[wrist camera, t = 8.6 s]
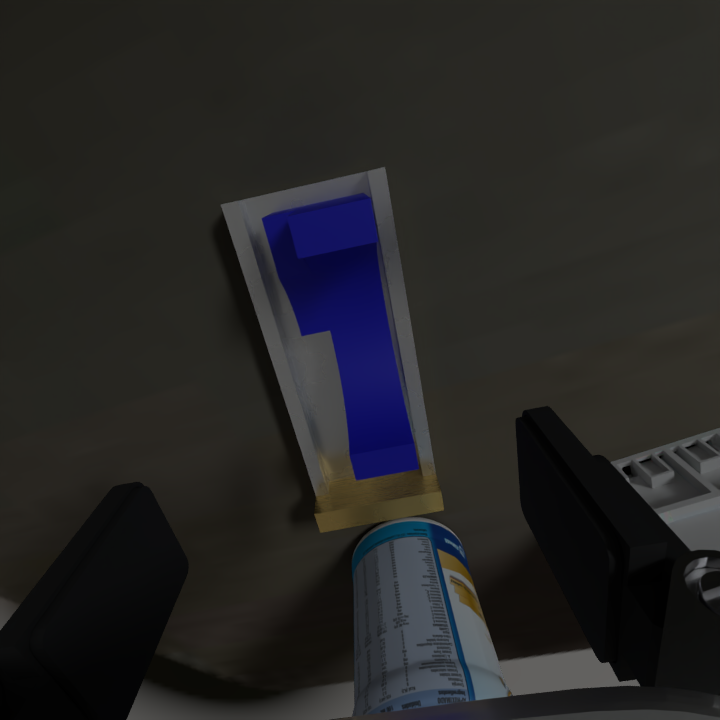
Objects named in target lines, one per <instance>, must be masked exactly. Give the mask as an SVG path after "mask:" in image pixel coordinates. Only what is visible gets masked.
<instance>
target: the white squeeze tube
mask: <svg viewBox="0 0 720 720" xmlns="http://www.w3.org/2000/svg"><path fill="white" fill-rule="evenodd" d="M360 193H364V194H366V195H367V196H368V197H370V198H371V204H372V209H373V215H374V220H375V226H376V231H377V237H378V242H377V255H378V263H379V270H380V276H381V283H382V289H383V295H384V301H385V306H386V312H387V317H388V323H389V328H390V333H391V339H392V344H393V349H394V354H395V359H396V364H397V369H398V374H399V378H400V383H401V388H402V392H403V397H404V402H405V406H406V410H407V415H408V419H409V423H410V428H411V432H412V436H413V440H414V444H415V449H416V455H417V460H418V466H419V469H417V470H412V471H406V472H401V473H395V474H390V475H385V476H379V477H374V478H368V479H363V480H357V481H356V479H355V475H354V471H353V467H352V463H351V460H350V456H349V438H348V427H347V419H346V411H345V404H344V397H343V391H342V385H341V379H340V374H339V369H338V364H337V359H336V354H335V350H334V345H333V341H332V336H331V332H330V331H325V332H320V333H315V334H310V335H305V336H301V333H300V329H299V326H298V323H297V320H296V317H295V314H294V311H293V308H292V306H291V303H290V301H289V298H288V296H287V294H286V292H285V290H284V288H283V286H282V284H281V282H280V280H279V278H278V274H277V271H276V267H275V264H274V260H273V257H272V253H271V250H270V246H269V243H268V239H267V236H266V232H265V229H264V225H263V222H262V218H263V217H265V216H267V215H269V214H271V213H273V212H278V211H282V210H287V209H292V208H296V207H301V206H305V205H310V204H314V203H319V202H323V201H328V200H332V199H337V198H341V197H346V196H351V195H355V194H360ZM221 207H222V210H223V213H224V216H225V219H226V222H227V225H228V228H229V232H230V235H231V238H232V241H233V244H234V247H235V250H236V253H237V256H238V259H239V262H240V265H241V268H242V271H243V274H244V277H245V281H246V284H247V287H248V290H249V293H250V296H251V299H252V302H253V305H254V308H255V311H256V314H257V317H258V320H259V323H260V326H261V330H262V333H263V336H264V339H265V342H266V345H267V348H268V351H269V354H270V357H271V360H272V363H273V366H274V369H275V372H276V375H277V378H278V382H279V385H280V388H281V391H282V394H283V397H284V400H285V403H286V406H287V409H288V412H289V415H290V418H291V421H292V424H293V427H294V431H295V434H296V437H297V440H298V443H299V446H300V449H301V452H302V455H303V458H304V461H305V464H306V467H307V470H308V473H309V476H310V480H311V483H312V486H313V489H314V492H315V495H316V502H315V513H314V515H315V518H316V521H317V524H318V527H319V530H320V533H321V532H327V531H332V530H338V529H343V528H349V527H354V526H360V525H366V524H371V523H377V522H382V521H388V520H393V519H399V518H404V517H410V516H415V515H421V514H426V513H432V512H437V511H443V510H444V506H443V500H442V494H441V489H440V486H439V483H438V480H437V476H436V472H435V466H434V460H433V454H432V448H431V442H430V436H429V430H428V424H427V418H426V412H425V406H424V400H423V394H422V388H421V382H420V376H419V370H418V364H417V358H416V352H415V346H414V340H413V334H412V327H411V321H410V315H409V309H408V303H407V297H406V291H405V285H404V279H403V273H402V267H401V261H400V255H399V249H398V243H397V237H396V231H395V225H394V219H393V213H392V207H391V201H390V195H389V189H388V183H387V177H386V171H385V167H383V168H379V169H375V170H370V171H366V172H362V173H358V174H353V175H349V176H345V177H340V178H336V179H332V180H327V181H323V182H319V183H314V184H310V185H305V186H301V187H297V188H292V189H288V190H284V191H279V192H275V193H271V194H266V195H262V196H257V197H253V198H249V199H244V200H240V201H235V202H231V203H226V204H222V205H221Z"/></svg>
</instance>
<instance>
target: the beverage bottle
mask: <svg viewBox="0 0 720 720" xmlns="http://www.w3.org/2000/svg"><path fill="white" fill-rule="evenodd" d="M352 579H353V590H354V697H355V698H354V699H355V706H354V711H353V716H361V715H368V714H376V713H384V712H391V711H399V710H406V709H414V708H421V707H429V706H436V705H444V704H451V703H459V702H467V701H474V700H482V699H490V698H499V697H508V696H513V695H512V693H511V692H510V690H509V688H508V687H507V686H506V683H505V680H504V677H503V674H502V671H501V668H500V665H499V662H498V658H497V655H496V652H495V649H494V646H493V643H492V640H491V637H490V634H489V631H488V628H487V625H486V621H485V618H484V615H483V612H482V609H481V606H480V603H479V600H478V597H477V593H476V590H475V587H474V584H473V581H472V577H471V574H470V570H469V567H468V563H467V558H466V555H465V552H464V549H463V546H462V544H461V542H460V540H459V539H458V537H457V536H456V535H455V534H454V533H453V532H452V531H451V530H450V529H449V528H447V527H446V526H444V525H443V524H441V523H439V522H436V521H434V520H430V519H426V518H420V517H404V518H399V519H393V520H390V521H387V522H384V523H382V524H380V525H378V526H376V527H374V528H373V529H371V530H370V531H369V532H368V533H366V534H365V535H364V536H363V538H362V539H361V540H360V541H359V543H358V544H357V546H356V548H355V551H354V554H353V558H352ZM353 716H352V717H353Z"/></svg>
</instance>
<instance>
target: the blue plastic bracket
mask: <svg viewBox="0 0 720 720" xmlns="http://www.w3.org/2000/svg"><path fill="white" fill-rule="evenodd" d="M262 222H263V225H264V229H265V232H266V236H267V239H268V243H269V246H270V250H271V253H272V257H273V260H274V264H275V267H276V271H277V274H278V278H279V280H280V282H281V284H282V286H283V288H284V290H285V292H286V294H287V296H288V298H289V301H290V303H291V306H292V308H293V311H294V314H295V317H296V320H297V323H298V326H299V329H300V333H301V336H305V335H310V334H315V333H320V332H325V331H330V332H331V336H332V341H333V345H334V350H335V354H336V359H337V364H338V369H339V374H340V379H341V385H342V391H343V397H344V404H345V411H346V419H347V427H348V438H349V456H350V460H351V463H352V467H353V471H354V475H355V479H356V481H357V480H363V479H368V478H374V477H379V476H385V475H390V474H395V473H401V472H406V471H412V470H417V469H419V466H418V460H417V455H416V449H415V444H414V440H413V436H412V432H411V428H410V423H409V419H408V415H407V410H406V406H405V402H404V397H403V392H402V388H401V383H400V378H399V374H398V369H397V364H396V359H395V354H394V349H393V344H392V339H391V333H390V328H389V323H388V317H387V312H386V306H385V301H384V295H383V289H382V283H381V276H380V270H379V263H378V255H377V242H378V237H377V231H376V226H375V220H374V215H373V209H372V204H371V198H370V197H368V196H367V195H366V194H364V193H360V194H355V195H351V196H346V197H341V198H337V199H332V200H328V201H323V202H319V203H314V204H310V205H305V206H301V207H296V208H292V209H287V210H282V211H278V212H273V213H271V214H269V215H267V216H265V217H263V218H262Z"/></svg>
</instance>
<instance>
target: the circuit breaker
mask: <svg viewBox="0 0 720 720" xmlns="http://www.w3.org/2000/svg"><path fill="white" fill-rule="evenodd" d="M706 441H708V444H707V443H706ZM694 444H695V446H694V447H690V448H687V449H686V448H685V447H687V446H691V445H694ZM675 451H676V454H675V453H674V452H675ZM659 456H661V459H660V458H659ZM649 458H651V460H649V461H646V462H642V463H639V461H643V460H646V459H649ZM610 463H611V464H612V465H613V466H614V467H615V468H616V469H617V470H618V472H619V473H620V474H621V475H622V476H623V477H624V478H625V479H626V480H627V481H628V482H629V484H630V485H631V486H632V487H633V488H634V489H635V490H636V491H637V492H638V493H639V494H640V496H641V497H642V498H643V499H644V500H645V501H646V502H647V503H648V504H649V505H650V506H651V508H652V509H653V510H654V511H655V512H656V513H657V514H658V515H659V516H660V517H661V519H662V520H663V521H664V522H665V523H666V524H667V525H668V526H669V527H670V528H671V529H672V531H673V532H674V533H675V534H676V535H677V536H678V537H679V538H680V539H681V540H682V541H683V543H684V544H685V545H686V546H687V547H688V548H689V549H690V550H691V551H695V550H717V551H720V428H717V429H714V430H711V431H708V432H705V433H702V434H698V435H695V436H692V437H689V438H686V439H683V440H679V441H676V442H673V443H670V444H667V445H664V446H660V447H657V448H654V449H651V450H648V451H645V452H641V453H638V454H635V455H632V456H629V457H625V458H622V459H619V460H616V461H613V462H610ZM629 465H630V469H631V474H630V475H626V474H625V473H624V472H623V471H622V468H623V467H626V466H629Z"/></svg>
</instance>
